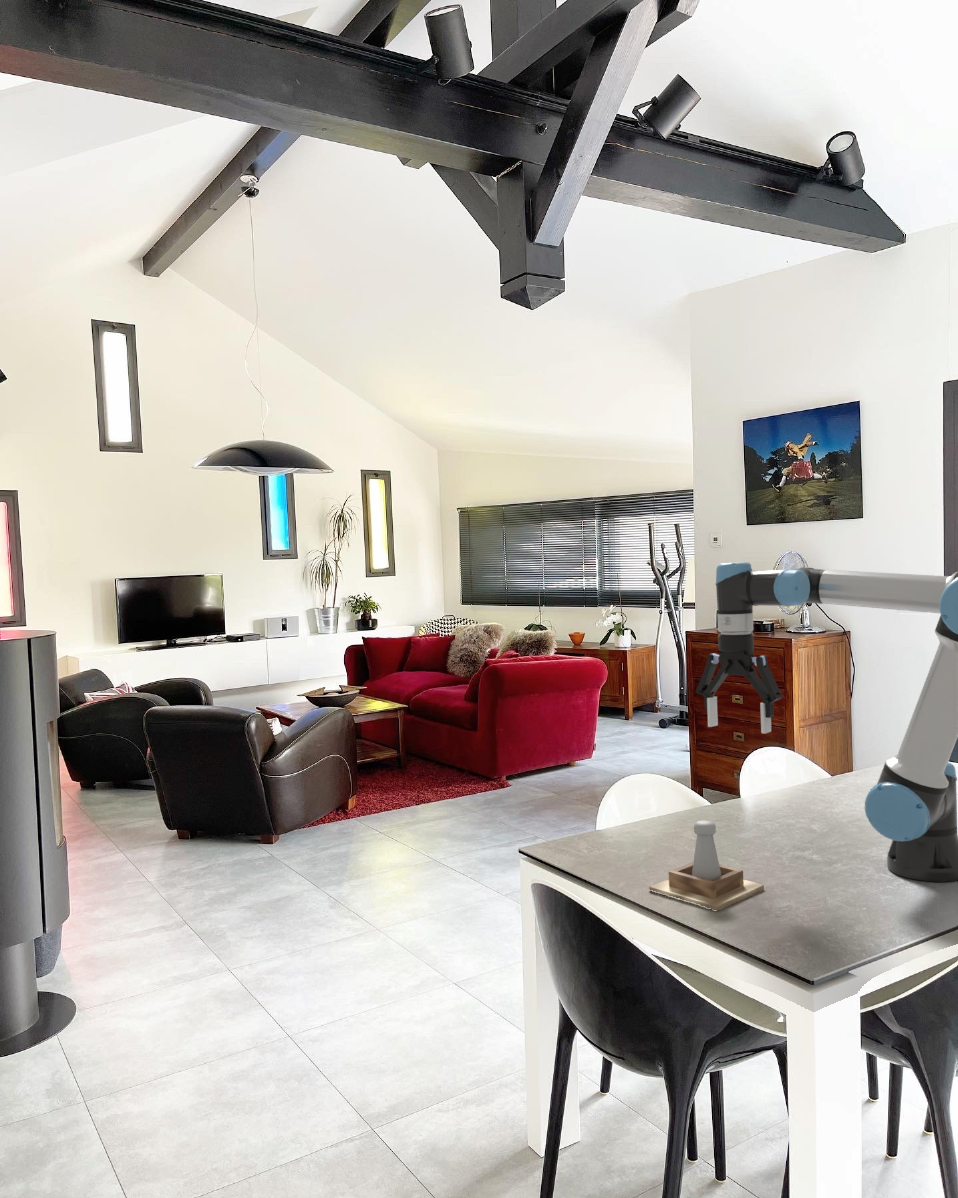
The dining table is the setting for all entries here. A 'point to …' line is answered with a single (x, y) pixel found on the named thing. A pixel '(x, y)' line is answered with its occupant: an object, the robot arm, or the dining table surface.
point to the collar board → (708, 887)
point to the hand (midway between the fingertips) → (738, 729)
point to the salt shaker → (705, 852)
